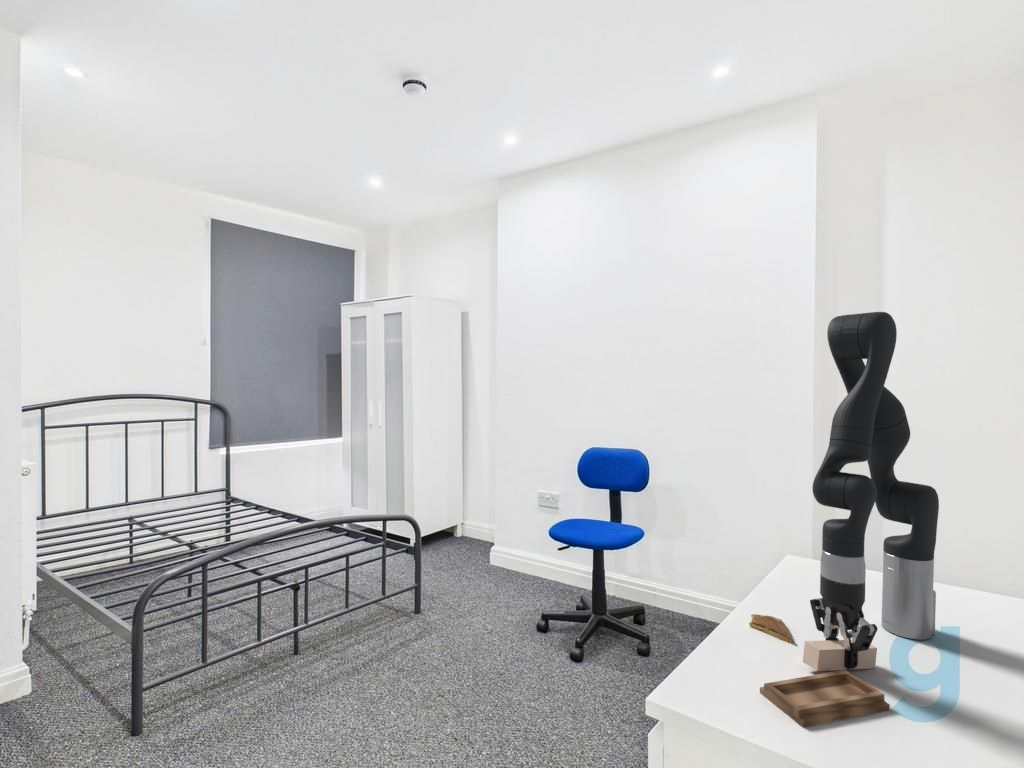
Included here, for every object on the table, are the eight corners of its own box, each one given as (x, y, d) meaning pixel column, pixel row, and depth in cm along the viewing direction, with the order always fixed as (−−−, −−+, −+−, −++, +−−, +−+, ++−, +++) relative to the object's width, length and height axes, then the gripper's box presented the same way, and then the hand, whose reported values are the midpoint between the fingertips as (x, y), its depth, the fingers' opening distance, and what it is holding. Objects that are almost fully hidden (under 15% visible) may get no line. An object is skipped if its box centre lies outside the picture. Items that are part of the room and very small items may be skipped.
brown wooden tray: (840, 678, 104) (840, 667, 104) (889, 710, 94) (889, 697, 94) (759, 692, 99) (760, 680, 99) (803, 727, 90) (803, 713, 90)
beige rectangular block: (859, 659, 111) (861, 639, 111) (875, 668, 108) (877, 647, 108) (802, 661, 107) (804, 641, 107) (817, 671, 104) (819, 649, 104)
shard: (793, 647, 117) (793, 638, 117) (754, 642, 119) (754, 634, 119) (781, 624, 128) (781, 616, 128) (746, 620, 129) (746, 613, 129)
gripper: (891, 586, 102) (889, 679, 102) (828, 560, 115) (826, 642, 116) (859, 591, 100) (857, 685, 100) (798, 564, 113) (797, 647, 114)
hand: (841, 661), depth 108 cm, fingers closed on beige rectangular block, 3 cm apart
